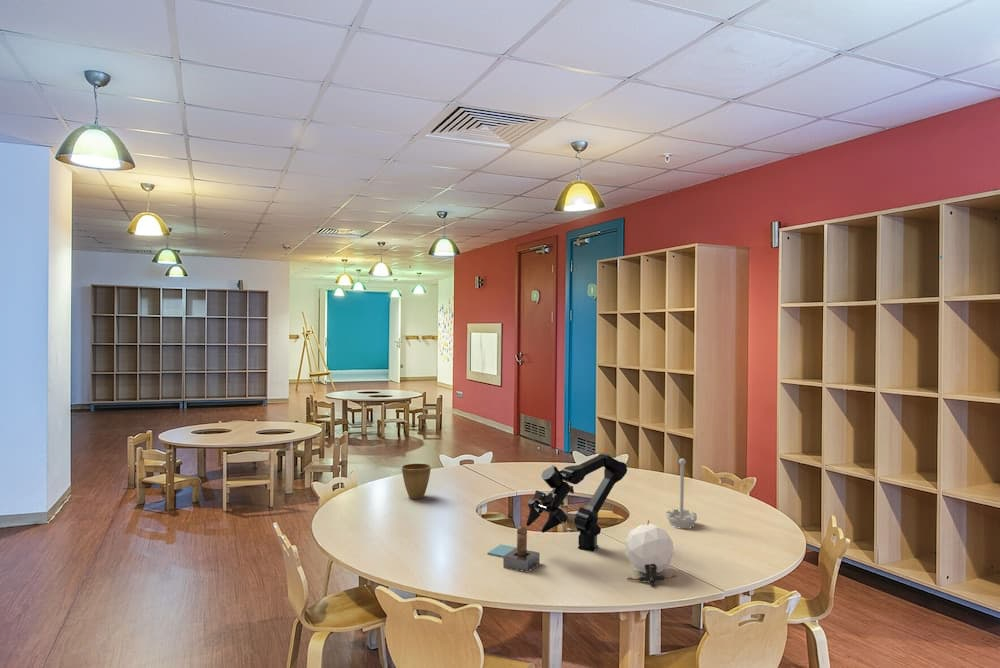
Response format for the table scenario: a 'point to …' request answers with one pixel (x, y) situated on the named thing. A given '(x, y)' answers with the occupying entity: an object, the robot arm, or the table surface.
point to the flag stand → (681, 507)
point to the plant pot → (416, 479)
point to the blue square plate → (501, 550)
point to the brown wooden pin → (522, 541)
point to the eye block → (521, 560)
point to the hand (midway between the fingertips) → (534, 528)
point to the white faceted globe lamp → (649, 552)
